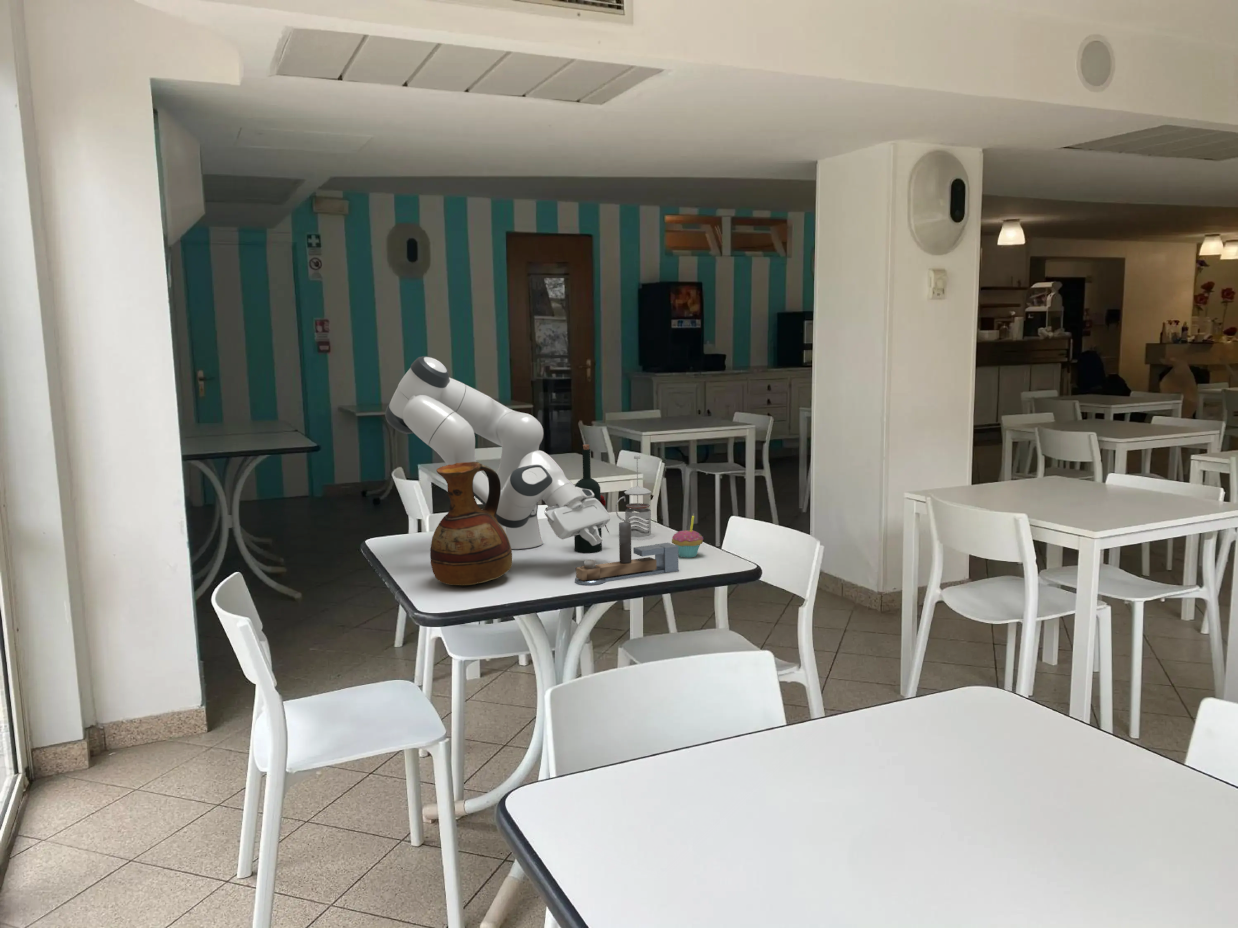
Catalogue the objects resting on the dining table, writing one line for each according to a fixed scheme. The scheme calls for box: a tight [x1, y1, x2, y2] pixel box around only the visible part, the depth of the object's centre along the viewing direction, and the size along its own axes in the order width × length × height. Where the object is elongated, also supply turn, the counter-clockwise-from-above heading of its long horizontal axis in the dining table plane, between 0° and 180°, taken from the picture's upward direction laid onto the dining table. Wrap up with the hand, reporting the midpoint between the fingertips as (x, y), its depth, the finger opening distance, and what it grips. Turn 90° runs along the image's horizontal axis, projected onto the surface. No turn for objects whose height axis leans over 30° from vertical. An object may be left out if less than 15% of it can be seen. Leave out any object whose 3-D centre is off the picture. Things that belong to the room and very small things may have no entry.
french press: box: [615, 454, 655, 541], centre depth 279 cm, size 10×12×25 cm
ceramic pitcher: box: [429, 461, 513, 586], centre depth 230 cm, size 20×20×30 cm
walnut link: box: [575, 521, 657, 581], centre depth 232 cm, size 21×5×12 cm, turn 119°
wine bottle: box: [573, 444, 610, 554], centre depth 262 cm, size 8×10×30 cm
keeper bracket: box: [574, 542, 679, 586], centre depth 234 cm, size 28×8×6 cm, turn 118°
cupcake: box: [671, 513, 704, 559], centre depth 254 cm, size 9×8×12 cm
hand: (597, 543), depth 238 cm, fingers closed
